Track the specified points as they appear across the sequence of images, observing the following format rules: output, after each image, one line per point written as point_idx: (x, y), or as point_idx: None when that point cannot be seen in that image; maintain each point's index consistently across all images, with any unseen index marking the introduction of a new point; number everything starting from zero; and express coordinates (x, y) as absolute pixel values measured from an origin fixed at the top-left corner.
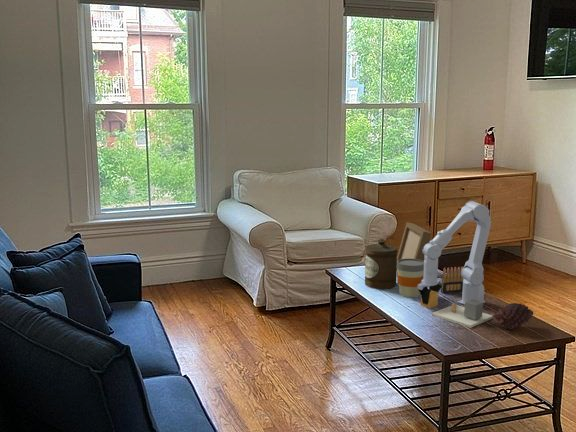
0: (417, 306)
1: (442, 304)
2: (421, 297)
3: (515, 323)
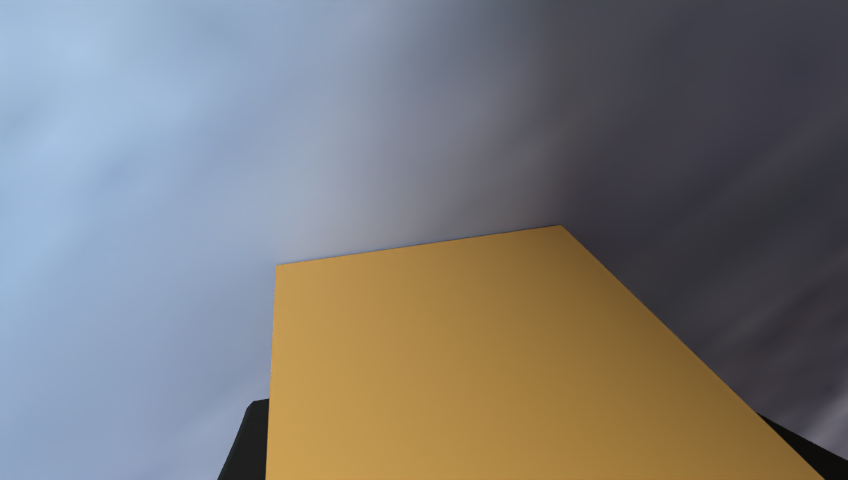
0: (137, 283)
1: None
2: (274, 441)
3: None
